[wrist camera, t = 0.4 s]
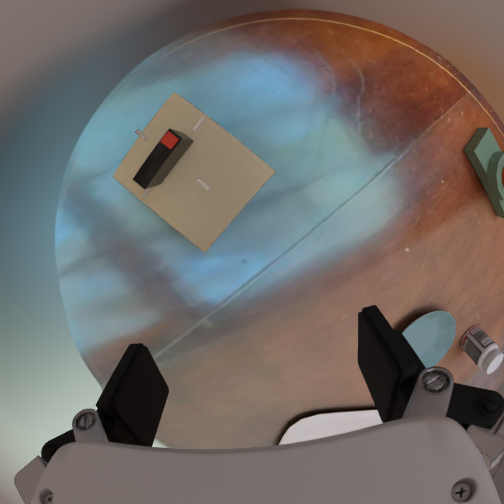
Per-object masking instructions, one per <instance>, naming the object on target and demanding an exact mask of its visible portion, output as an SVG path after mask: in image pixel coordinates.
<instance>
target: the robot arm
mask: <svg viewBox="0 0 504 504" xmlns="http://www.w3.org/2000/svg"><path fill="white" fill-rule="evenodd" d="M358 364H359V367H360V370H361V372H362V374H363V377H364V379H365V381H366V384H367V386H368V389H369V391H370V393H371V396H372V398H373V401H374V403H375V406H376V408H377V411H378V413H379V416H380V418H381V421H382V422H383V423H382V424H378V425H374V426H370V427H366V428H362V429H359V430H355V431H351V432H346V433H342V434H338V435H333V436H328V437H323V438H318V439H313V440H308V441H302V442H295V443H289V444H281V445H273V446H264V447H253V448H238V449H172V448H158V447H152V445H153V442H154V438H155V435H156V432H157V428H158V425H159V422H160V419H161V416H162V412H163V409H164V406H165V403H166V400H167V397H168V393H169V388H168V386H167V384H166V382H165V380H164V378H163V377H162V375H161V373H160V371H159V369H158V367H157V365H156V363H155V362H154V360H153V358H152V356H151V354H150V352H149V350H148V348H147V347H146V346H144V345H143V344H141V343H139V344H130V345H129V346H128V348H127V350H126V352H125V353H124V355H123V357H122V358H121V360H120V362H119V364H118V365H117V367H116V369H115V371H114V372H113V374H112V376H111V378H110V380H109V381H108V383H107V385H106V387H105V389H104V390H103V392H102V394H101V396H100V398H99V400H98V401H97V404H96V406H97V408H98V409H97V411H95V410H94V409H84V410H82V411H80V412H79V413H78V414H77V415H76V416H75V417H74V419H73V422H72V427H73V429H72V430H70V431H67V432H66V433H64V434H62V435H60V436H58V437H56V438H54V439H52V440H50V441H48V442H47V443H45V445H44V446H43V448H42V451H41V455H42V457H40V456H39V455H38V456H37V457H36V458H35V459H34V460H33V461H31V462H30V463H29V464H28V465H26V466H25V467H24V468H23V469H22V470H20V471H19V472H18V473H17V474H16V476H15V479H14V483H15V486H16V488H17V490H18V492H19V494H20V496H21V497H22V499H23V501H24V503H25V504H504V399H503V397H502V396H501V395H500V394H499V393H498V392H495V391H492V390H487V389H482V388H476V387H472V386H467V385H462V384H457V383H454V378H453V375H452V374H451V372H450V371H449V370H447V369H445V368H443V367H437V366H433V367H429V368H427V369H426V367H425V366H424V364H423V363H422V361H421V360H420V358H419V357H418V355H417V354H416V352H415V351H414V350H413V348H412V347H411V345H410V344H409V342H408V341H407V340H406V338H405V337H404V335H403V334H402V333H401V331H400V330H395V331H394V330H393V328H392V327H391V326H390V324H389V323H388V321H387V320H386V319H385V317H384V316H383V314H382V313H381V312H380V310H379V309H378V307H377V306H376V305H373V306H369V307H365V308H363V309H362V312H359V313H358ZM477 447H478V448H480V449H482V451H481V452H482V453H483V454H485V455H486V456H488V457H489V459H490V462H491V465H490V469H489V470H488V468H487V466H486V464H485V462H484V460H483V458H482V456H481V454H480V452H479V450H478V449H477ZM453 485H454V486H453Z"/></svg>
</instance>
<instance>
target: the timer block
mask: <svg viewBox="0 0 504 504" xmlns="http://www.w3.org/2000/svg"><path fill="white" fill-rule="evenodd" d="M464 152H465V153H466V155H467V157H468V158H469V160H470V162H471V164H472V165H473V167H474V169H475V171H476V173H477V174H478V176H479V178H480V180H481V182H482V184H483V186H484V188H485V190H486V192H487V194H488V196H489V199H490V201H491V203H492V205H493V207H494V210H495V212H496V214H497V216H499V217H502V218H504V186H503V184H502V170H503V167H504V151H501V150H500V148H499V146H498V144H497V142H496V140H495V138H494V136H493V134H492V132H491V130H490V128H478V129H477V131H476V132H475V134H474V135H473V137H472V138H471V140H470V141H469V143H468V144H467V146H466V147H465V149H464Z"/></svg>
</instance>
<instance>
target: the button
mask: <svg viewBox="0 0 504 504" xmlns="http://www.w3.org/2000/svg"><path fill="white" fill-rule="evenodd" d="M502 184H503V186H504V167H503V170H502Z"/></svg>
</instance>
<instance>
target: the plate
mask: <svg viewBox="0 0 504 504" xmlns="http://www.w3.org/2000/svg"><path fill="white" fill-rule="evenodd" d="M382 423H383V422H382V421H381V418H380V416H379V413H378V411H377V409H370V410H355V411H339V412H330V413H320V414H316V415H312V416H309V417H305V418H301V419H300V420H299V421H297V422H296V423H294V424H293V425H291V426H290V427H289V428H288V430H287V431H286V432H285V434H284V435H283V437H282V439H281V441H280V443H279V445H281V444H289V443H295V442H302V441H308V440H313V439H318V438H323V437H328V436H333V435H338V434H342V433H346V432H351V431H355V430H359V429H362V428H366V427H370V426H374V425H378V424H382Z"/></svg>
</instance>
